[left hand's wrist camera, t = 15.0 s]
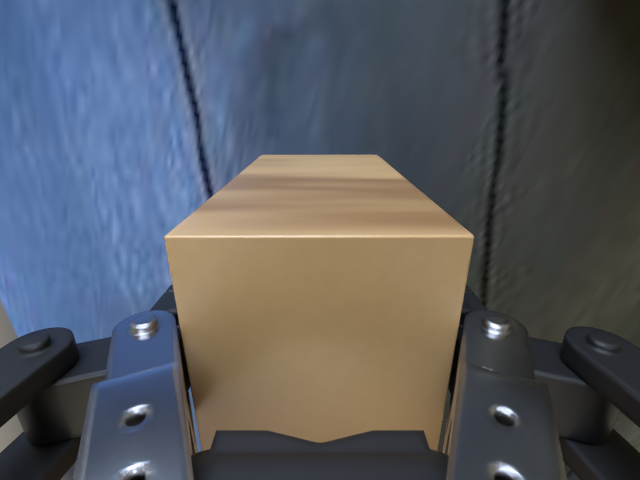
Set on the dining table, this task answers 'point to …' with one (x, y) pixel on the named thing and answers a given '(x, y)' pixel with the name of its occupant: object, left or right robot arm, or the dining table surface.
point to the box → (319, 300)
